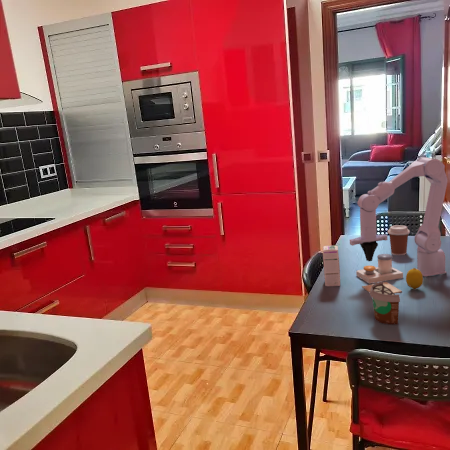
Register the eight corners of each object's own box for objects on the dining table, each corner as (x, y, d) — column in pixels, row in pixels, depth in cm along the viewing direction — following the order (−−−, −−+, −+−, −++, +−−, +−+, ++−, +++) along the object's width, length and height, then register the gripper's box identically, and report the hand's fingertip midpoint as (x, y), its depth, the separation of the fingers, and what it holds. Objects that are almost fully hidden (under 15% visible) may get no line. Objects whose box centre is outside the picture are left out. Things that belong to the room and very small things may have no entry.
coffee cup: (411, 250, 200) (411, 224, 197) (407, 257, 192) (407, 230, 190) (390, 249, 205) (390, 224, 202) (385, 255, 197) (385, 229, 194)
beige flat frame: (388, 269, 180) (388, 265, 179) (403, 277, 170) (403, 272, 170) (356, 275, 177) (356, 270, 177) (369, 283, 168) (368, 278, 167)
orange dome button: (372, 272, 175) (371, 264, 174) (377, 275, 171) (377, 268, 170) (361, 273, 174) (361, 266, 174) (367, 277, 170) (367, 270, 170)
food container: (364, 312, 145) (363, 283, 143) (382, 309, 145) (382, 280, 143) (380, 329, 133) (379, 297, 131) (400, 326, 133) (400, 295, 131)
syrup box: (340, 286, 168) (339, 249, 165) (324, 286, 169) (322, 249, 166) (340, 280, 174) (338, 244, 170) (324, 281, 175) (322, 245, 172)
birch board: (386, 282, 167) (386, 281, 167) (401, 292, 157) (401, 291, 157) (361, 287, 165) (361, 286, 165) (375, 296, 156) (375, 295, 155)
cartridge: (387, 272, 177) (387, 253, 175) (395, 276, 172) (395, 256, 170) (375, 274, 176) (374, 255, 174) (382, 278, 171) (382, 258, 169)
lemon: (422, 286, 160) (422, 265, 158) (423, 292, 155) (423, 270, 153) (405, 286, 162) (405, 265, 160) (406, 292, 157) (406, 270, 155)
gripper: (380, 221, 173) (381, 254, 176) (345, 226, 171) (346, 260, 174) (390, 225, 167) (390, 259, 170) (354, 230, 164) (355, 265, 167)
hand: (369, 260), depth 171 cm, fingers closed
